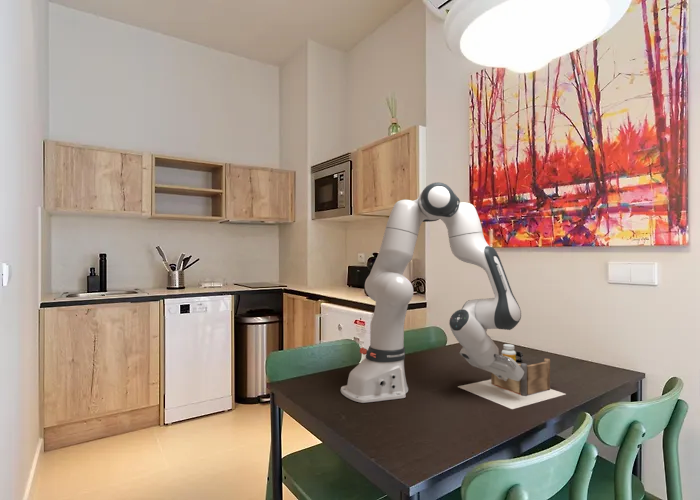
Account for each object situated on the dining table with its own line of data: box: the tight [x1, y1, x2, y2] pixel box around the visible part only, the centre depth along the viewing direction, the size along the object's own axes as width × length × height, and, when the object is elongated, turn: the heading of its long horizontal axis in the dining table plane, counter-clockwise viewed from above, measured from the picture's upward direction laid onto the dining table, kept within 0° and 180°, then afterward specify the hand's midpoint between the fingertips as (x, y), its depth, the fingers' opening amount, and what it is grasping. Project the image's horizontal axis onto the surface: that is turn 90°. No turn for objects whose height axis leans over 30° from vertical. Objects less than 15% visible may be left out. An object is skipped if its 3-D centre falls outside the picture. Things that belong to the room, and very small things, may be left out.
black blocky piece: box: [514, 349, 530, 365], centre depth 171 cm, size 12×7×5 cm, turn 51°
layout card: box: [457, 378, 567, 410], centre depth 133 cm, size 26×22×1 cm
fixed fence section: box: [520, 358, 551, 396], centre depth 132 cm, size 14×2×10 cm, turn 120°
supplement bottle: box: [500, 343, 517, 361], centre depth 158 cm, size 5×5×10 cm
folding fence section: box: [490, 362, 521, 393], centre depth 135 cm, size 11×2×10 cm, turn 30°
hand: (503, 378), depth 134 cm, fingers closed, pressing on folding fence section
